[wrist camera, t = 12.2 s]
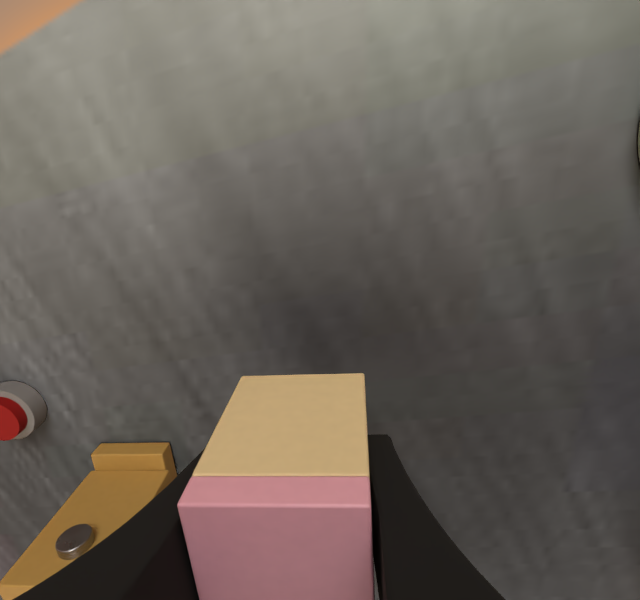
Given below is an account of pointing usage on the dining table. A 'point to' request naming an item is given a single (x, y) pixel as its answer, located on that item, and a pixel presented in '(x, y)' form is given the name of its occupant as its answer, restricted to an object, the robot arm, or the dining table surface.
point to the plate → (639, 143)
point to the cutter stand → (94, 510)
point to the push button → (20, 410)
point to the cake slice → (284, 494)
